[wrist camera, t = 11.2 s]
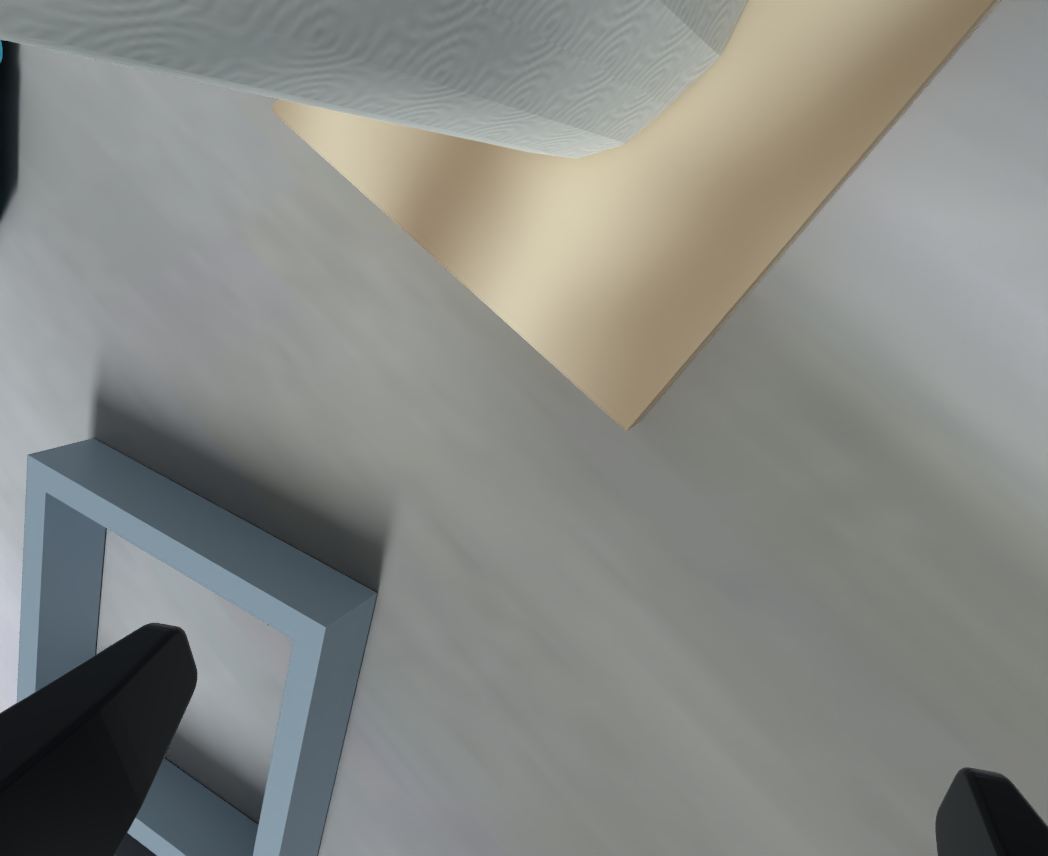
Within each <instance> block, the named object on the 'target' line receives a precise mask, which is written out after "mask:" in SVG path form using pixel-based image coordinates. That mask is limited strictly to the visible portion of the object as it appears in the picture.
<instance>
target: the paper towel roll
mask: <svg viewBox="0 0 1048 856" xmlns="http://www.w3.org/2000/svg"><path fill="white" fill-rule="evenodd" d="M746 2H747V0H0V39H1V40H6V41H10V42H15V43H20V44H24V45H29V46H34V47H38V48H43V49H48V50H52V51H57V52H62V53H66V54H71V55H76V56H80V57H85V58H90V59H94V60H99V61H104V62H109V63H113V64H118V65H123V66H127V67H132V68H137V69H141V70H146V71H151V72H155V73H160V74H165V75H169V76H174V77H179V78H183V79H188V80H193V81H198V82H202V83H207V84H212V85H216V86H221V87H226V88H230V89H235V90H240V91H244V92H249V93H254V94H258V95H263V96H268V97H272V98H277V99H282V100H286V101H291V102H296V103H301V104H305V105H310V106H315V107H319V108H324V109H329V110H333V111H338V112H343V113H347V114H352V115H357V116H361V117H366V118H371V119H375V120H380V121H385V122H389V123H394V124H399V125H404V126H408V127H413V128H418V129H422V130H427V131H432V132H436V133H441V134H446V135H450V136H455V137H460V138H464V139H469V140H474V141H478V142H483V143H488V144H493V145H497V146H502V147H507V148H511V149H516V150H521V151H525V152H530V153H537V154H545V155H552V156H559V157H566V158H574V159H578V158H581V157H585V156H588V155H591V154H594V153H598V152H601V151H604V150H607V149H610V148H614V147H617V146H620V145H623V144H626V143H627V142H629V141H630V140H631V139H632V138H633V137H634V136H635V135H637V134H638V133H639V132H640V131H641V130H642V129H643V128H644V127H646V126H647V125H648V124H649V123H650V122H651V121H652V120H653V119H655V118H656V117H657V116H658V115H659V114H660V113H661V112H663V111H664V110H665V109H666V108H667V107H668V106H669V105H670V104H671V103H672V102H673V101H674V100H675V99H676V98H678V97H679V96H680V95H681V94H682V93H683V92H684V91H685V90H686V89H687V88H688V87H689V86H690V85H691V84H692V83H693V82H694V81H695V80H696V79H697V78H698V77H699V76H700V75H701V74H702V73H703V72H704V71H706V70H707V69H708V68H709V67H710V66H711V65H712V64H713V63H714V62H715V61H716V60H717V59H718V58H719V57H720V56H721V54H722V52H723V50H724V47H725V45H726V43H727V41H728V39H729V37H730V35H731V33H732V31H733V29H734V27H735V25H736V23H737V21H738V19H739V17H740V15H741V13H742V11H743V9H744V6H745V4H746Z"/></svg>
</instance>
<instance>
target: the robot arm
mask: <svg viewBox="0 0 1048 856" xmlns="http://www.w3.org/2000/svg"><path fill="white" fill-rule="evenodd" d="M196 683H197V668H196V665H195V662H194V658H193V655H192V652H191V649H190V646H189V642H188V639H187V636H186V634H185V632H184V630H182V629H181V628H180V627H177V626H171V625H166V624H160V623H150V624H147V625H144V626H142V627H141V628H139V629H137V630H136V631H134V632H132V633H131V634H129V635H127V636H126V637H124V638H123V639H121V640H119V641H118V642H116V643H114V644H113V645H111V646H109V647H108V648H106V649H104V650H103V651H101V652H100V653H98V654H96V655H95V656H93V657H91V658H90V659H88V660H86V661H85V662H83V663H82V664H80V665H78V666H77V667H75V668H73V669H72V670H70V671H68V672H67V673H65V674H64V675H62V676H60V677H59V678H57V679H55V680H54V681H52V682H50V683H49V684H47V685H46V686H44V687H42V688H41V689H39V690H37V691H36V692H34V693H32V694H31V695H29V696H28V697H26V698H24V699H23V700H21V701H19V702H18V703H16V704H14V705H13V706H11V707H10V708H8V709H6V710H5V711H3V712H1V713H0V856H114V855H115V853H116V851H117V850H118V848H119V846H120V844H121V843H122V841H123V839H124V837H125V836H126V834H127V832H128V830H129V829H130V827H131V825H132V823H133V821H134V820H135V818H136V816H137V814H138V812H139V810H140V809H141V807H142V805H143V803H144V801H145V798H146V796H147V794H148V792H149V790H150V788H151V786H152V784H153V782H154V779H155V777H156V775H157V773H158V770H159V768H160V766H161V764H162V761H163V759H164V757H165V755H166V753H167V750H168V748H169V746H170V744H171V741H172V739H173V737H174V735H175V733H176V730H177V728H178V726H179V724H180V721H181V719H182V717H183V715H184V713H185V710H186V708H187V706H188V704H189V701H190V699H191V697H192V695H193V692H194V690H195V687H196ZM936 842H937V852H938V856H1048V826H1047V825H1046V823H1045V822H1044V821H1043V820H1042V818H1041V817H1040V816H1039V815H1038V814H1037V812H1036V811H1035V810H1034V809H1033V807H1032V806H1031V805H1030V804H1029V803H1028V801H1027V800H1026V799H1025V798H1024V796H1023V795H1022V794H1021V793H1020V791H1019V790H1018V789H1017V788H1016V787H1015V785H1014V784H1013V783H1012V782H1011V781H1010V780H1009V779H1008V778H1007V777H1005V776H1004V775H1002V774H999V773H996V772H991V771H985V770H980V769H974V768H963V769H961V770H959V771H958V773H957V774H956V776H955V778H954V780H953V782H952V784H951V785H950V787H949V789H948V791H947V793H946V795H945V797H944V799H943V801H942V803H941V805H940V807H939V809H938V812H937V816H936Z"/></svg>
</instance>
